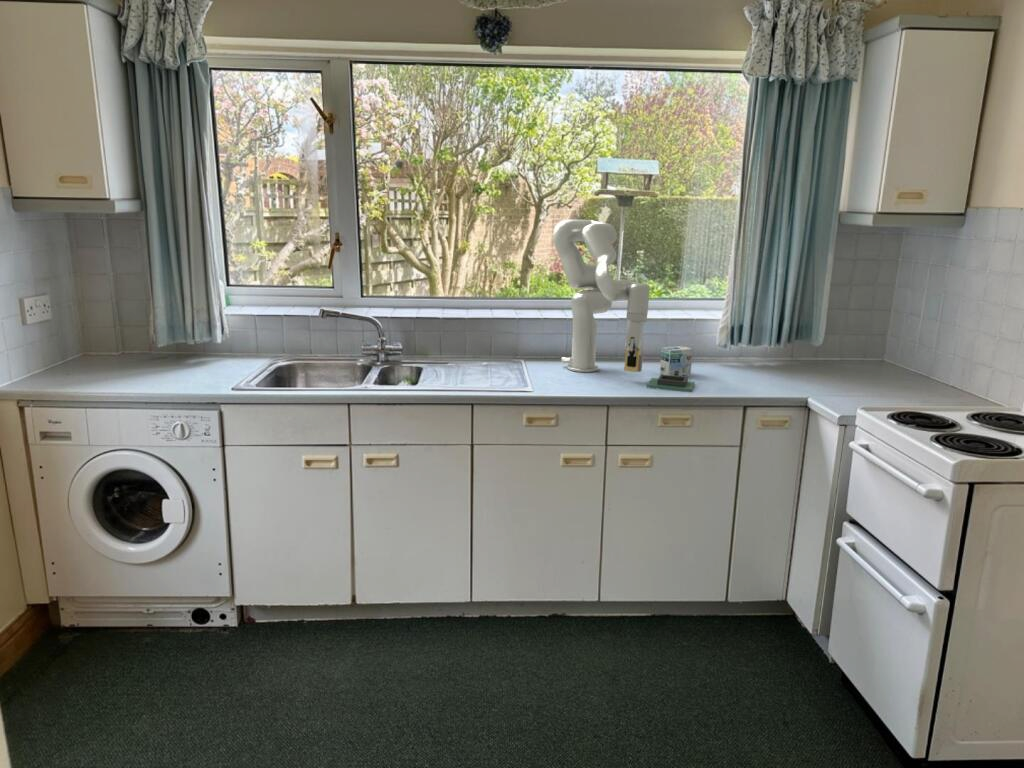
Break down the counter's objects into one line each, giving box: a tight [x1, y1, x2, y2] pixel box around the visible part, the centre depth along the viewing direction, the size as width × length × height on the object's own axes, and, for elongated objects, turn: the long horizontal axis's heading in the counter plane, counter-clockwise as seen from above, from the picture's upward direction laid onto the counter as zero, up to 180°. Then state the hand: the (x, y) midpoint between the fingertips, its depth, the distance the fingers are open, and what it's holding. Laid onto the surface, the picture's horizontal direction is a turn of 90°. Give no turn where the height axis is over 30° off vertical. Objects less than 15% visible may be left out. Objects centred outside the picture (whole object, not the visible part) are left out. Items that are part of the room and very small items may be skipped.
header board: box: [646, 374, 696, 393], centre depth 269 cm, size 16×12×3 cm
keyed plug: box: [623, 346, 644, 373], centre depth 272 cm, size 6×4×8 cm, turn 71°
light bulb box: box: [659, 345, 694, 377], centre depth 287 cm, size 11×7×11 cm, turn 112°
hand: (632, 364), depth 273 cm, fingers closed on keyed plug, 4 cm apart
